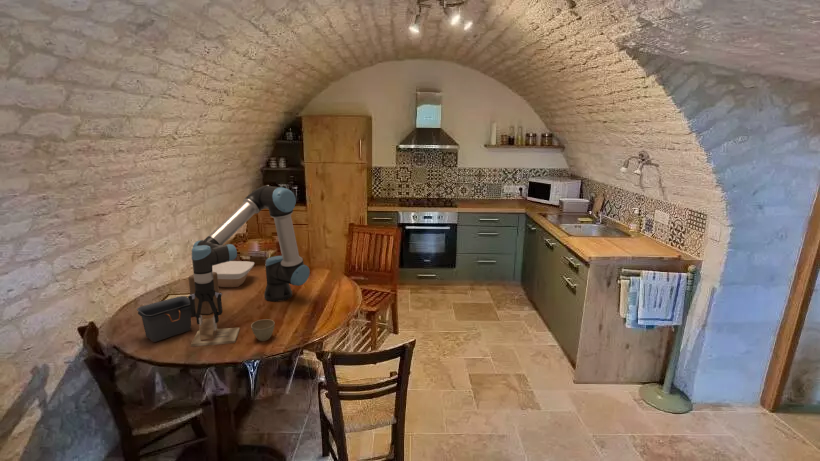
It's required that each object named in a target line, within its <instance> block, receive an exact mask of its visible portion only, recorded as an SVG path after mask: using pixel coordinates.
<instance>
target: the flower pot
mask: <svg viewBox="0 0 820 461" xmlns="http://www.w3.org/2000/svg"><path fill="white" fill-rule="evenodd" d="M250 327H251V330H252V332H253V334H254V336H255V337H256V339H257V340H258V341H259V342H265V341H268V340H270V338H271V337H272V335H273V333H274V330H275V321H274V320H272V319H270V318H269V319H267V318H266V319H258V320H256V321H254V322H252V323H251V325H250Z"/></svg>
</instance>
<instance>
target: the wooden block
mask: <svg viewBox="0 0 820 461" xmlns="http://www.w3.org/2000/svg"><path fill="white" fill-rule="evenodd" d="M213 281H214V290H215V291H216V292H217V293H220V290H219V289H220V288H219V286H218V277H217V273H216V272H213ZM188 286H189V295H190V294H195V281H194V273H192V274H191V275H189V276H188ZM194 300H195V311H196V313H197V309H198V303H199V299H198V298H197V297H196V296H195V298H194ZM213 301H214V303H215V306H216V308H217V310H218V304H217V298H216V295H214V297H213ZM212 313H213V311H212V309H211V306H210V304H209V302H207V301H204V302H203V303H202V308H201V313H200V315H210V314H212Z"/></svg>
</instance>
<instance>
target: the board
mask: <svg viewBox="0 0 820 461" xmlns="http://www.w3.org/2000/svg"><path fill="white" fill-rule="evenodd" d="M239 333H240V327H230V328H229V327H227V328H226V327H224V328H217V333H216V335H215V337H214V339H213V340H208V341H201V339H200V329H199V330H197V331H196V334H195V335H194V337H193V339H192V340H191V343H190V347H203V346H215V345H226V344H236V342H237V339H238V335H239Z"/></svg>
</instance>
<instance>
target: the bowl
mask: <svg viewBox="0 0 820 461" xmlns="http://www.w3.org/2000/svg"><path fill="white" fill-rule="evenodd" d="M254 266H255V262H254V261H246V260H243V261H242V260H231V261H229V262H225V263H221V264H217V265H213V266H212V270H213V272H216V273H217V277H218V288H219V287H220V288H238V287H240V286H241V285H243V284H244V283H245V281H246V279H247V276H248V274H249V272H250V271H251V270H252V268H253V267H254Z"/></svg>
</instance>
